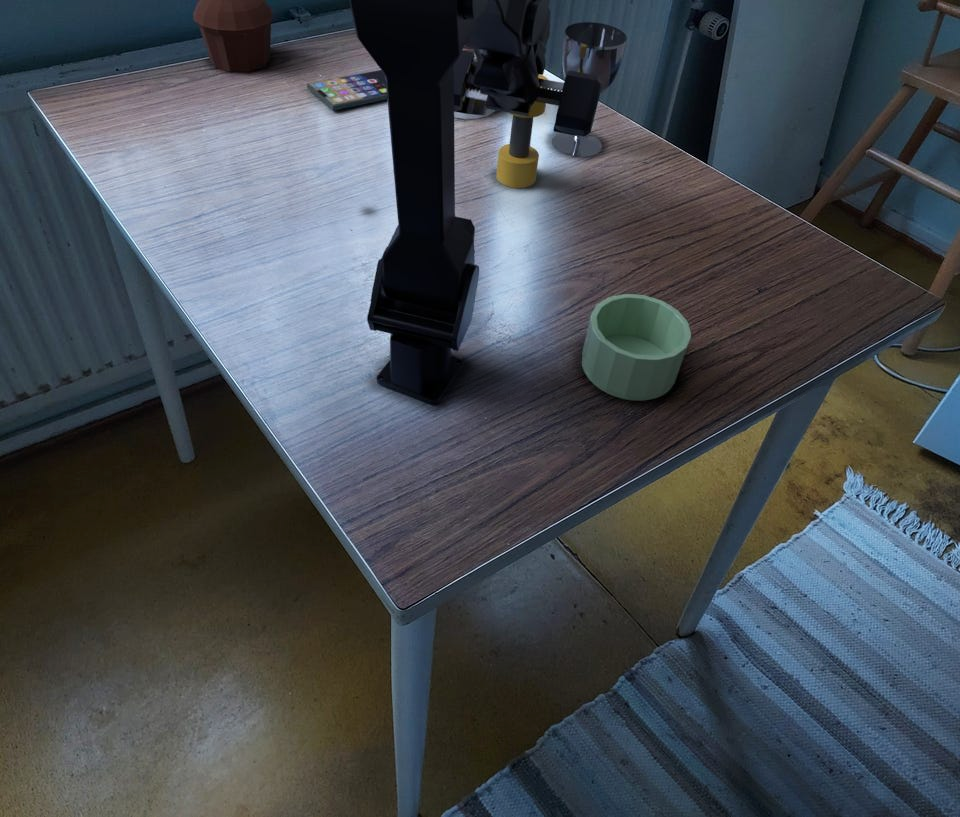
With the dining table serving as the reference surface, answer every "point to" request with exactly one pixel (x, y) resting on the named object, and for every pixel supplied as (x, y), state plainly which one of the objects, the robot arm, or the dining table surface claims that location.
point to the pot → (635, 346)
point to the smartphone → (351, 90)
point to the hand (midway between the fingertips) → (521, 118)
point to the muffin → (235, 32)
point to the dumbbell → (520, 150)
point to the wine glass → (590, 71)
